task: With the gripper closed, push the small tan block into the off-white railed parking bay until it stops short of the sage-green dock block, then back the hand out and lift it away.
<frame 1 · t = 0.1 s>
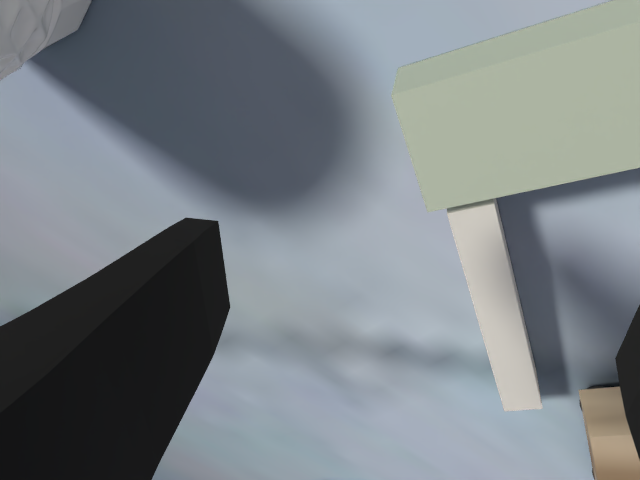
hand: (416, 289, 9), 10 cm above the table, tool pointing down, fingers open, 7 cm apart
parking bay: (630, 266, 20), on the table
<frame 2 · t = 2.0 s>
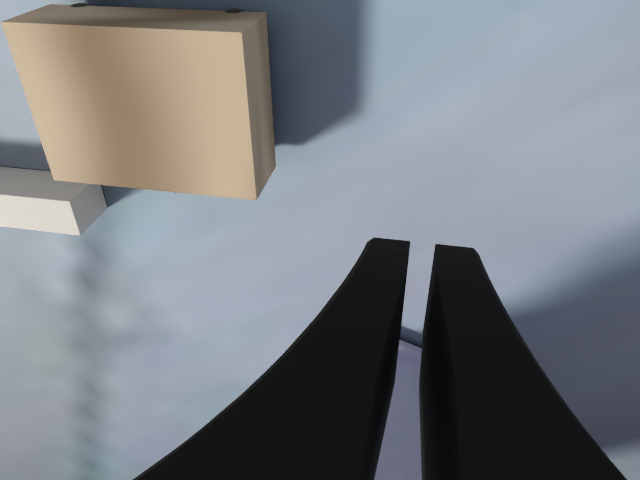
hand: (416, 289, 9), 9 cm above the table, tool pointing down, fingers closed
tan block: (177, 81, 18), on the table
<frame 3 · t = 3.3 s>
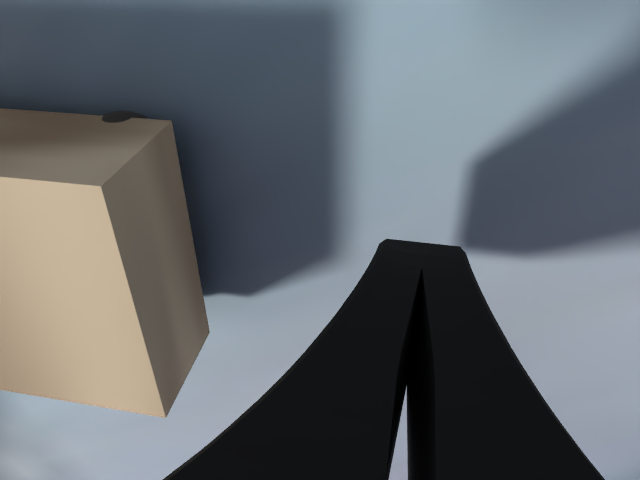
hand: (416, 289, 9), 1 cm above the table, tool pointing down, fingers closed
tan block: (55, 204, 12), on the table
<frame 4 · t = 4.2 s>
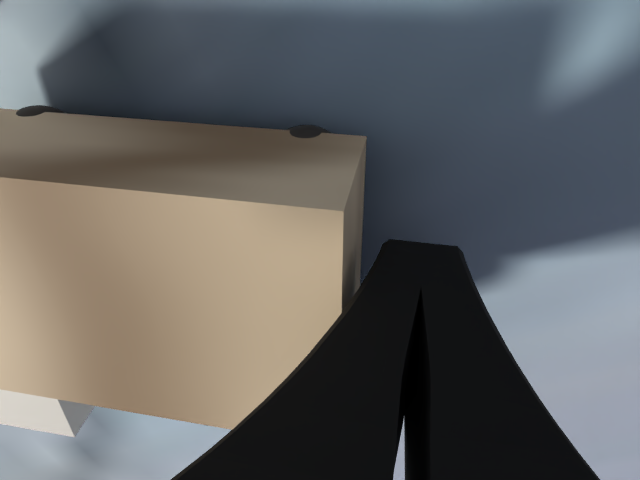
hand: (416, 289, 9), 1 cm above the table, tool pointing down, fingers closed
tan block: (199, 220, 11), on the table, touching gripper
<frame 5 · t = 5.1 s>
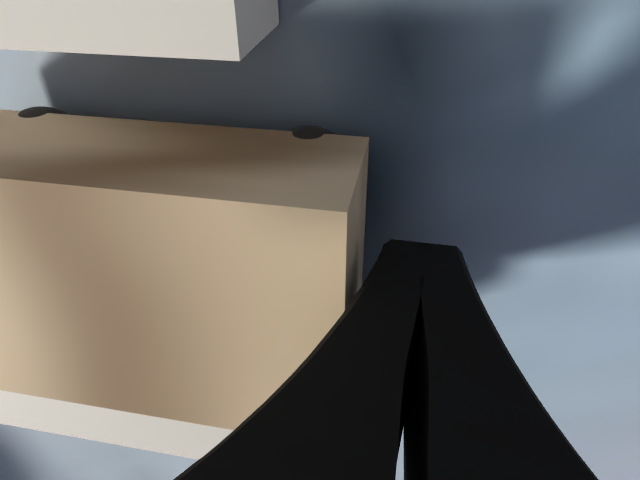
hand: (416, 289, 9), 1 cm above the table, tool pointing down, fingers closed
tan block: (201, 221, 11), on the table, touching gripper
parking bay: (67, 207, 12), on the table
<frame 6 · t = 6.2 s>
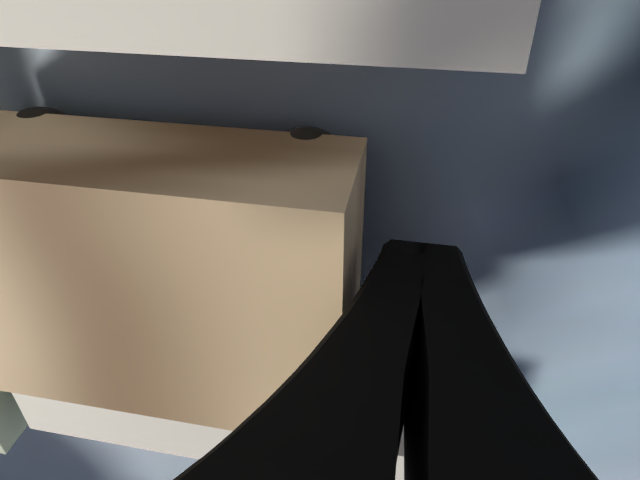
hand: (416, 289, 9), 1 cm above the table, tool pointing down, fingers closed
tan block: (199, 221, 11), on the table, touching gripper
parking bay: (221, 222, 11), on the table
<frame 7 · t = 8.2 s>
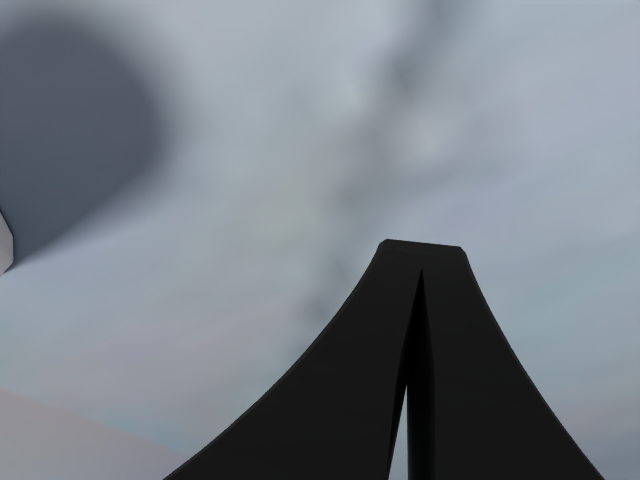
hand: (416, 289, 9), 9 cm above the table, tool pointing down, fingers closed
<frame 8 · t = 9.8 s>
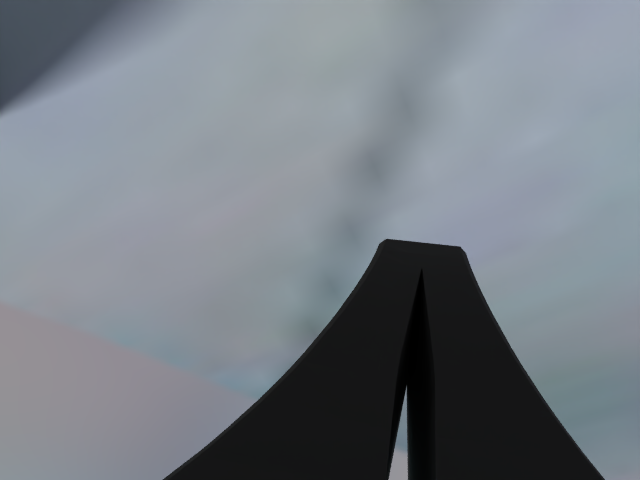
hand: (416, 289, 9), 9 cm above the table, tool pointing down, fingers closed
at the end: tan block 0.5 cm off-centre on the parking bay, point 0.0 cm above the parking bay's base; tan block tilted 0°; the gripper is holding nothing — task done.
